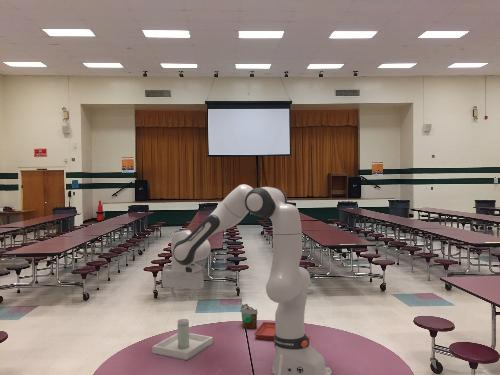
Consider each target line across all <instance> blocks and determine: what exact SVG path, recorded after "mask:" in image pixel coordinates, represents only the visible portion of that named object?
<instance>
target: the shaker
mask: <svg viewBox="0 0 500 375" xmlns="http://www.w3.org/2000/svg"><path fill="white" fill-rule="evenodd" d="M176 327H177V333H178V348H179V349H187V348H189V333H190V323H189V318H188V319H187V318H181V319H178V320H177V326H176Z"/></svg>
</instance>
